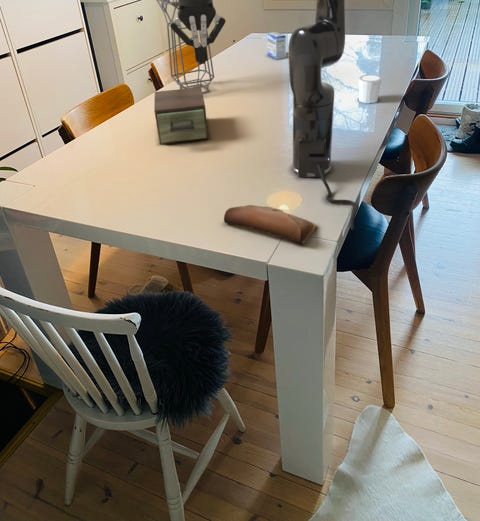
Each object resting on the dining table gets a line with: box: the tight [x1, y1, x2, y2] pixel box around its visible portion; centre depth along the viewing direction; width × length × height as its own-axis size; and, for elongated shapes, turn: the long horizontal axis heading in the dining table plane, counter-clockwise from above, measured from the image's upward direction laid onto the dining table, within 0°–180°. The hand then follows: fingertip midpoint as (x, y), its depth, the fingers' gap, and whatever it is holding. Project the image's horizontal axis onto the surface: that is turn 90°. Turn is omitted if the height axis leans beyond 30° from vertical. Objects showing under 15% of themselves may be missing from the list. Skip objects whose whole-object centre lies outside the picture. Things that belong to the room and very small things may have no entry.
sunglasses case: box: [223, 204, 317, 245], centre depth 104 cm, size 18×7×7 cm
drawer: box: [157, 109, 206, 143], centre depth 143 cm, size 19×13×8 cm, turn 7°
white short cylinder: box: [358, 74, 382, 104], centre depth 158 cm, size 7×7×7 cm
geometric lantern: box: [155, 0, 215, 94], centre depth 167 cm, size 16×16×35 cm
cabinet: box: [153, 86, 209, 145], centre depth 146 cm, size 16×14×10 cm
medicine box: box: [266, 31, 287, 60], centre depth 203 cm, size 8×4×9 cm, turn 25°
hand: (202, 63), depth 118 cm, fingers closed
